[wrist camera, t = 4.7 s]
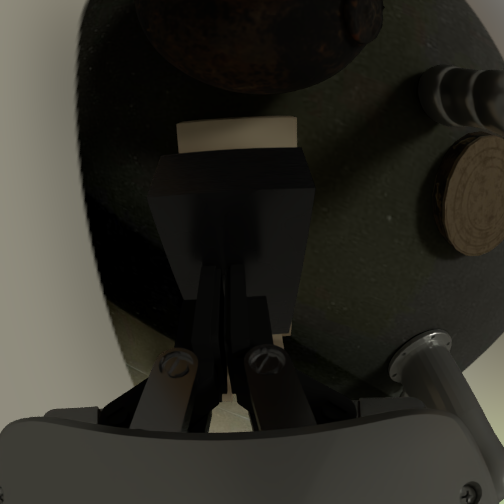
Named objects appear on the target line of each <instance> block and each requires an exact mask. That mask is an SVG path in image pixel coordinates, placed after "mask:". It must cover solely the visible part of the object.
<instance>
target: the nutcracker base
mask: <svg viewBox="0 0 504 504" xmlns="http://www.w3.org/2000/svg"><path fill="white" fill-rule="evenodd" d="M176 126H177V138H178V148H179V153H188V152H200V151H212V150H227V149H246V148H276V147H297V118H296V117H293V116H251V117H230V118H216V119H204V120H193V121H184V122H180V123H178V124H176ZM272 336H273V343H274V345H277V346H279V347H281V348H283V349H284V347H283V340H282V336H291V327H290V331H289V333H287V334H273V335H272ZM227 385H228V392H227V394H222V402H232V391H231V385H230V379H229V372H228V366H227Z"/></svg>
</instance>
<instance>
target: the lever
mask: <svg viewBox="0 0 504 504" xmlns="http://www.w3.org/2000/svg"><path fill="white" fill-rule="evenodd" d="M315 189H316V188H315V185H314V182H313V179H312V176H311V173H310V170H309V167H308V165H307V162H306V159H305V156H304V153H303V150H302V148H301V147H276V148H246V149H227V150H212V151H200V152H188V153H178V154H169V155H161V157H160V160H159V163H158V166H157V169H156V171H155V174H154V177H153V180H152V183H151V186H150V189H149V192H148V195H147V200H148V203H149V206H150V209H151V212H152V215H153V218H154V221H155V224H156V227H157V230H158V233H159V236H160V238H161V241H162V244H163V247H164V250H165V252H166V255H167V258H168V260H169V263H170V266H171V268H172V271H173V274H174V276H175V279H176V281H177V284H178V287H179V289H180V292H181V294H182V297H183V299H184V300H192V299H197V293H198V286H199V279H200V273H201V267H202V266H216V269H221V271H222V281H223V290H224V297H225V269H229V268H230V266H231V265H235V264H244V267H245V281H246V295H247V297H251V296H266V298H267V304H268V310H269V317H270V323H271V330H272V335H273V334H287V333H289V331H290V327H291V322H292V317H293V312H294V307H295V302H296V297H297V292H298V287H299V282H300V277H301V272H302V266H303V261H304V255H305V250H306V244H307V238H308V232H309V226H310V220H311V214H312V208H313V202H314V195H315Z"/></svg>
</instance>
